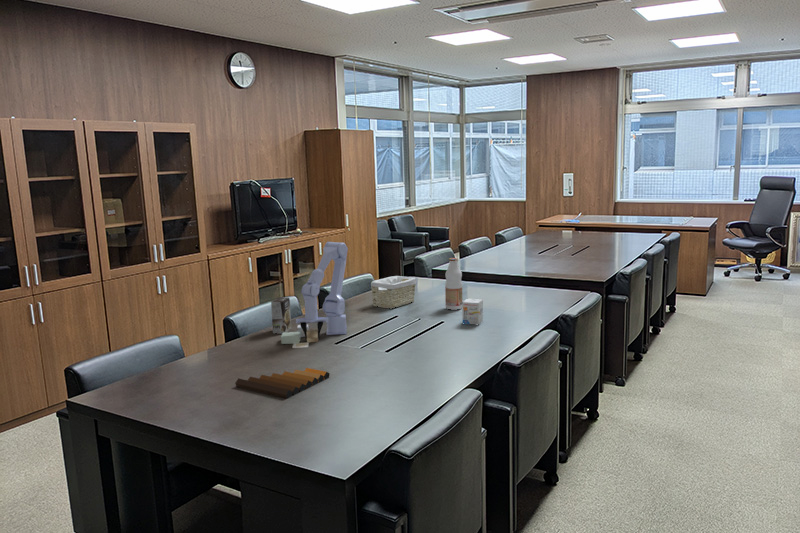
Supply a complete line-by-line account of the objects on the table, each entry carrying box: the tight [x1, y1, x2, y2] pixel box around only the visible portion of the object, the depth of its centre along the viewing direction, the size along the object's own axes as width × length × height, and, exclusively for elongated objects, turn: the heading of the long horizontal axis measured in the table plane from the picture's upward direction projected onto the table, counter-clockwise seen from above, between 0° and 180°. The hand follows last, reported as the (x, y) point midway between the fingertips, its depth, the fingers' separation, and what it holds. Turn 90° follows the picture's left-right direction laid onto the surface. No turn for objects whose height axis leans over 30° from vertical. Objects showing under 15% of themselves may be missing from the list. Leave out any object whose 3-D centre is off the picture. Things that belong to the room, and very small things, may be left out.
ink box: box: [461, 298, 484, 325], centre depth 311 cm, size 9×8×12 cm
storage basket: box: [370, 275, 417, 310], centre depth 355 cm, size 24×16×15 cm
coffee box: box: [270, 297, 292, 335], centre depth 304 cm, size 9×6×16 cm
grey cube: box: [296, 323, 310, 338], centre depth 296 cm, size 5×5×5 cm
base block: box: [280, 331, 301, 345], centre depth 287 cm, size 8×8×4 cm
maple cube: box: [306, 328, 319, 343], centre depth 287 cm, size 5×5×5 cm
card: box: [292, 342, 310, 349], centre depth 281 cm, size 7×7×1 cm
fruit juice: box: [444, 257, 463, 311], centre depth 340 cm, size 9×9×28 cm
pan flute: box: [234, 367, 331, 399], centre depth 234 cm, size 25×3×25 cm
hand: (312, 337), depth 288 cm, fingers closed on maple cube, 5 cm apart
